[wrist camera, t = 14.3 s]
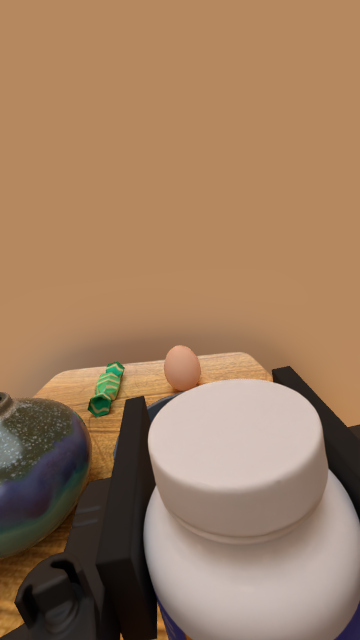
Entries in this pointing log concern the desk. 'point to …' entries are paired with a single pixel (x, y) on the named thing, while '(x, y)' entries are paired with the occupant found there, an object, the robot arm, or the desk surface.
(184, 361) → the egg
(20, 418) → the vase
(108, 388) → the candy
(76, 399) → the desk surface
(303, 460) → the pill bottle
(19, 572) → the desk surface
